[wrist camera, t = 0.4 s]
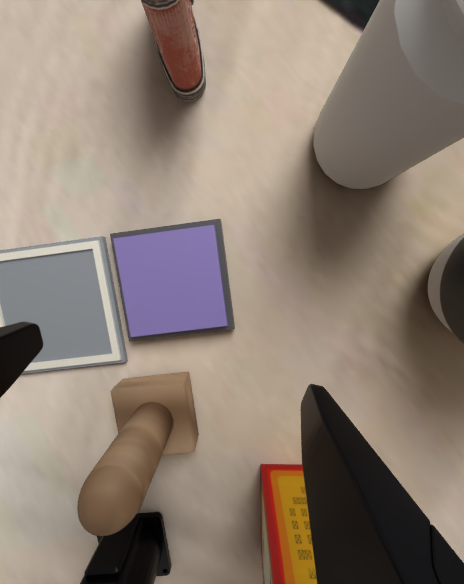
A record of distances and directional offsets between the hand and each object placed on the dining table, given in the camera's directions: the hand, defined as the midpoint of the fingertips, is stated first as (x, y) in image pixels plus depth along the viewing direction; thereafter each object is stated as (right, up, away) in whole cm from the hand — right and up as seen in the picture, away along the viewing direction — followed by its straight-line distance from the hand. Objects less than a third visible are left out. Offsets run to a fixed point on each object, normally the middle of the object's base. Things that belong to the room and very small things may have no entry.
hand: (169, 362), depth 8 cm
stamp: (-4, -8, +14) cm, 17 cm away
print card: (-14, +1, +13) cm, 19 cm away
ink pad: (-3, +3, +13) cm, 13 cm away
